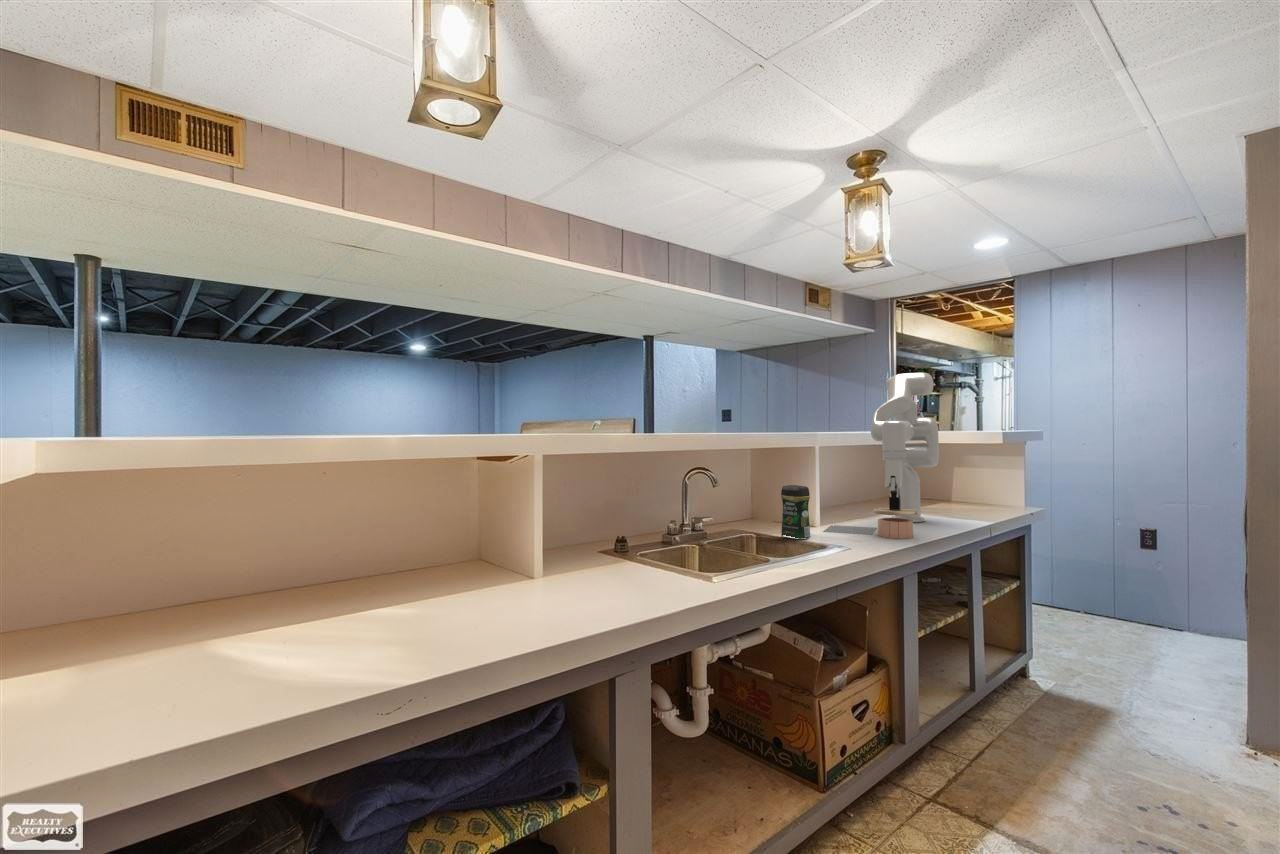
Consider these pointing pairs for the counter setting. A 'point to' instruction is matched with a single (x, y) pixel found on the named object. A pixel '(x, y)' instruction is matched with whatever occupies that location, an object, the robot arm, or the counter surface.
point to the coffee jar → (795, 511)
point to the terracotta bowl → (895, 527)
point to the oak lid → (895, 510)
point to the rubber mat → (851, 529)
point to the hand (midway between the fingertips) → (895, 507)
